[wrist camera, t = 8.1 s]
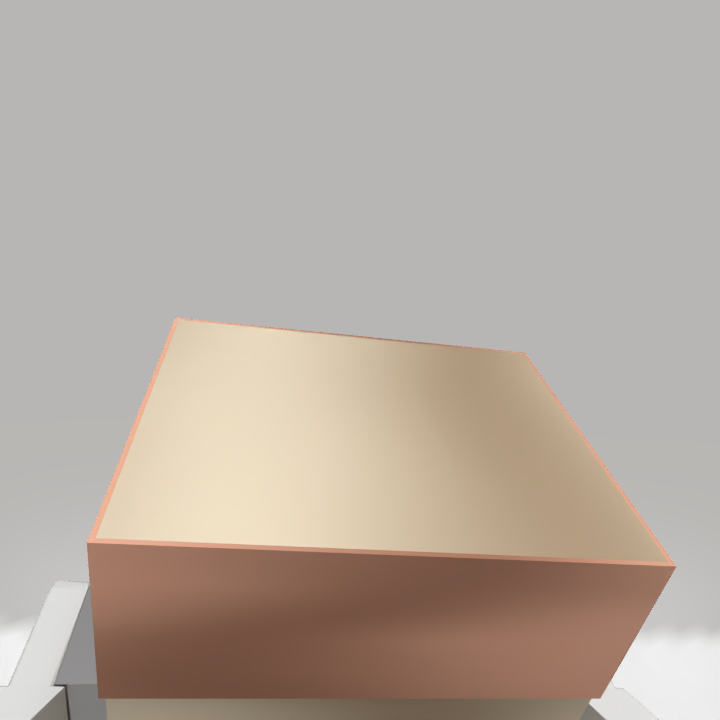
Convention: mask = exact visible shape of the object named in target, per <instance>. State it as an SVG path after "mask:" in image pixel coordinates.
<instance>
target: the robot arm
mask: <svg viewBox="0 0 720 720" xmlns="http://www.w3.org/2000/svg"><path fill="white" fill-rule="evenodd" d="M0 720H107V710H106V699H98V687H97V673H96V659H95V646H94V632H93V618H92V605H91V591H90V582H78V581H56V582H55V584H54V585H53V586H52V588H51V589H50V590H49V592H48V594H47V597H46V599H45V601H44V604H43V606H42V608H41V611H40V613H39V615H38V618H37V620H36V622H35V625H34V627H33V629H32V632H31V634H30V636H29V639H28V641H27V643H26V646H25V648H24V650H23V653H22V655H21V657H20V660H19V662H18V664H17V666H16V669H15V671H14V673H13V676H12V678H11V680H10V683H9V685H8V686H0ZM580 720H659V719H658V718H657V717H655V716H654V715H653V714H652V713H651V712H650V711H649V710H647V709H646V708H645V707H644V706H643V705H642V704H641V703H639V702H638V701H637V700H636V699H635V698H634V697H633V696H631V695H630V694H629V693H628V692H627V691H626V690H625V689H623V688H615V687H614V685H613V683H612V681H610V683H609V684H608V686H607V688H606V690H605V691H604V693H603V695H602V697H601V698H600V699H591V700H590V702H589V704H588V706H587V707H586V709H585V711H584V713H583V715H582V716H581V718H580Z"/></svg>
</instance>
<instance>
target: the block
mask: <svg viewBox="0 0 720 720" xmlns="http://www.w3.org/2000/svg"><path fill="white" fill-rule="evenodd" d="M87 549H88V564H89V577H90V591H91V605H92V618H93V632H94V646H95V659H96V673H97V687H98V699H106V710H107V720H580V718H581V716H582V715H583V713H584V711H585V709H586V707H587V706H588V704H589V702H590V700H591V699H600V698H601V697H602V695H603V693H604V691H605V690H606V688H607V686H608V684H609V683H610V681H611V679H612V678H613V676H614V674H615V672H616V671H617V669H618V667H619V665H620V664H621V662H622V660H623V658H624V657H625V655H626V653H627V651H628V650H629V648H630V646H631V644H632V643H633V641H634V639H635V637H636V636H637V634H638V632H639V631H640V629H641V627H642V625H643V624H644V622H645V620H646V618H647V617H648V615H649V613H650V611H651V610H652V608H653V606H654V604H655V603H656V601H657V599H658V597H659V596H660V594H661V592H662V590H663V589H664V587H665V585H666V583H667V582H668V580H669V578H670V577H671V575H672V573H673V571H674V570H675V568H676V565H675V564H674V562H673V561H672V560H671V558H670V557H669V555H668V554H667V553H666V551H665V550H664V548H663V547H662V546H661V544H660V543H659V541H658V540H657V538H656V537H655V536H654V534H653V533H652V532H651V530H650V529H649V527H648V526H647V524H646V523H645V522H644V520H643V519H642V517H641V516H640V514H639V513H638V512H637V510H636V509H635V507H634V506H633V505H632V503H631V502H630V500H629V499H628V498H627V496H626V495H625V493H624V492H623V491H622V489H621V488H620V486H619V485H618V483H617V482H616V481H615V479H614V478H613V476H612V475H611V474H610V472H609V471H608V469H607V468H606V466H605V465H604V464H603V462H602V461H601V459H600V458H599V457H598V455H597V454H596V453H595V451H594V450H593V448H592V447H591V445H590V444H589V442H588V441H587V440H586V438H585V437H584V435H583V434H582V433H581V431H580V430H579V428H578V427H577V426H576V424H575V423H574V421H573V420H572V418H571V417H570V416H569V414H568V413H567V411H566V410H565V409H564V407H563V406H562V404H561V403H560V401H559V400H558V399H557V397H556V396H555V394H554V393H553V392H552V390H551V389H550V387H549V386H548V385H547V384H546V382H545V380H544V379H543V377H542V376H541V375H540V373H539V372H538V371H537V369H536V368H535V366H534V365H533V363H532V362H531V361H530V359H529V358H528V356H527V355H526V353H522V352H511V351H502V350H492V349H481V348H472V347H462V346H452V345H441V344H432V343H422V342H412V341H401V340H392V339H382V338H373V337H362V336H353V335H343V334H333V333H323V332H312V331H302V330H293V329H283V328H273V327H263V326H253V325H243V324H233V323H224V322H214V321H203V320H193V319H184V318H175V321H174V323H173V325H172V328H171V331H170V333H169V336H168V338H167V341H166V343H165V346H164V348H163V351H162V354H161V356H160V359H159V361H158V364H157V366H156V369H155V371H154V374H153V377H152V379H151V381H150V384H149V386H148V389H147V392H146V394H145V397H144V399H143V402H142V404H141V407H140V409H139V412H138V414H137V417H136V420H135V422H134V425H133V427H132V430H131V433H130V435H129V438H128V440H127V443H126V445H125V447H124V450H123V453H122V455H121V458H120V460H119V463H118V465H117V468H116V470H115V473H114V476H113V478H112V480H111V483H110V486H109V488H108V491H107V493H106V496H105V498H104V501H103V503H102V506H101V508H100V511H99V514H98V516H97V518H96V521H95V524H94V526H93V529H92V531H91V534H90V536H89V539H88V542H87Z"/></svg>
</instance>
